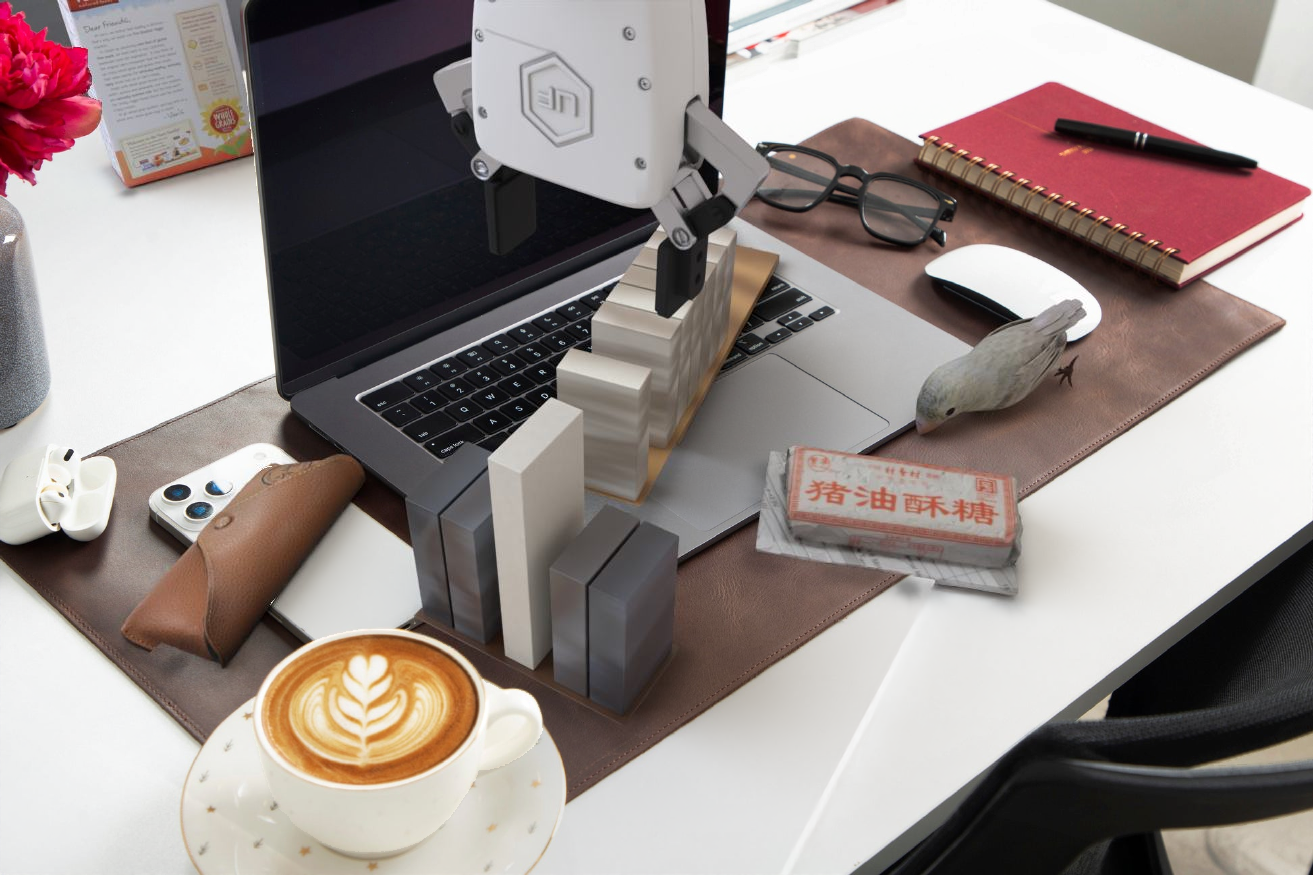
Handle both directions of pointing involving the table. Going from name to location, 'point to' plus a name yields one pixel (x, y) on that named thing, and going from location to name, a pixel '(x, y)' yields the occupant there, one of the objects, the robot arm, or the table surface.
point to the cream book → (535, 521)
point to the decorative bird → (1000, 367)
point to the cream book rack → (656, 363)
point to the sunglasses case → (244, 559)
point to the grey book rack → (581, 585)
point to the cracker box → (163, 83)
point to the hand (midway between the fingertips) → (592, 272)
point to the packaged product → (892, 517)
